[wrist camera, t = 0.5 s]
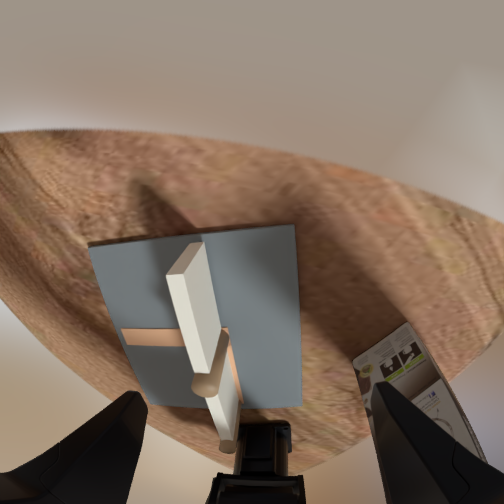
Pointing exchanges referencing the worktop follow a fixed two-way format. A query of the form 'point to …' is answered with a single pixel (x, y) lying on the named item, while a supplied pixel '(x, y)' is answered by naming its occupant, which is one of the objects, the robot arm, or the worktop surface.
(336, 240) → the worktop surface
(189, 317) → the fence gate panel
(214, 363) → the fence post and panel
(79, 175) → the worktop surface
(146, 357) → the card
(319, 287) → the worktop surface
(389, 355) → the coffee box
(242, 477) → the robot arm
